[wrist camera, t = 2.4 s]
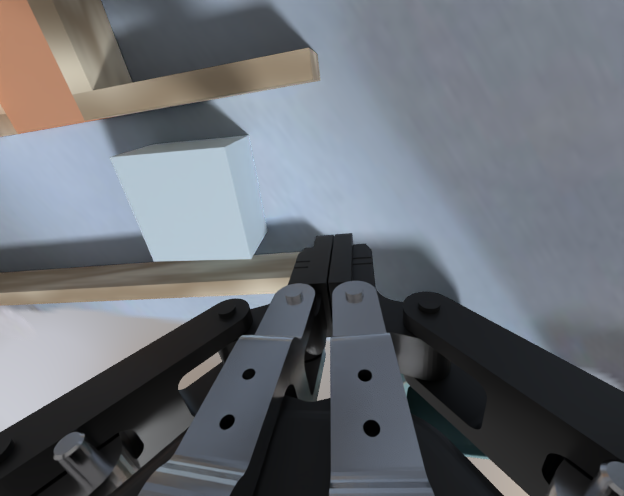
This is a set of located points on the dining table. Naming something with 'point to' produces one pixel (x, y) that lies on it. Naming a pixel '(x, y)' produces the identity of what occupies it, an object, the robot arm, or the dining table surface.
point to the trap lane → (111, 103)
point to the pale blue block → (195, 198)
